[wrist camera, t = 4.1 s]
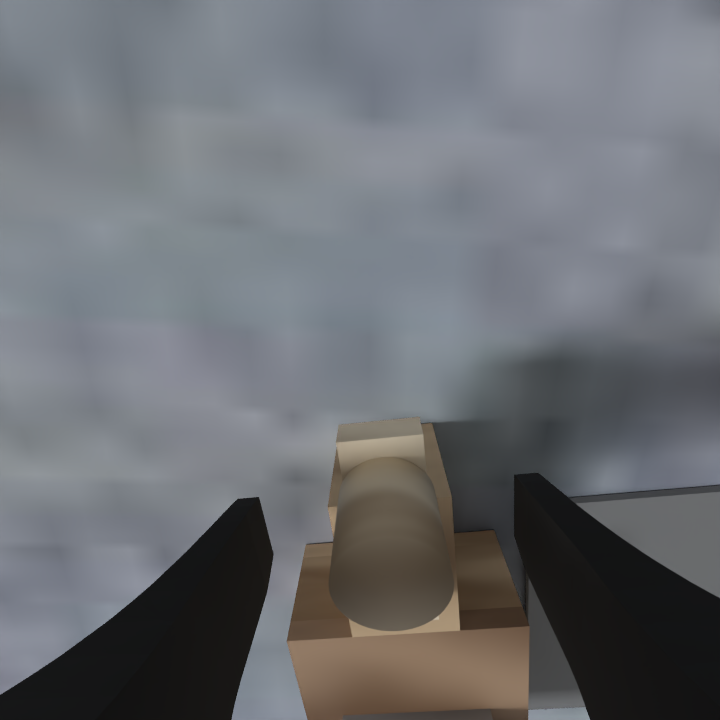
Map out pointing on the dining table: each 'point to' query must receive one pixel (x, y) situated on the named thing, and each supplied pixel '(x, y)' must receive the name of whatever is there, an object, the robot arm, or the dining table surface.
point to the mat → (652, 537)
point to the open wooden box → (466, 552)
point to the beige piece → (388, 529)
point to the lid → (415, 670)
